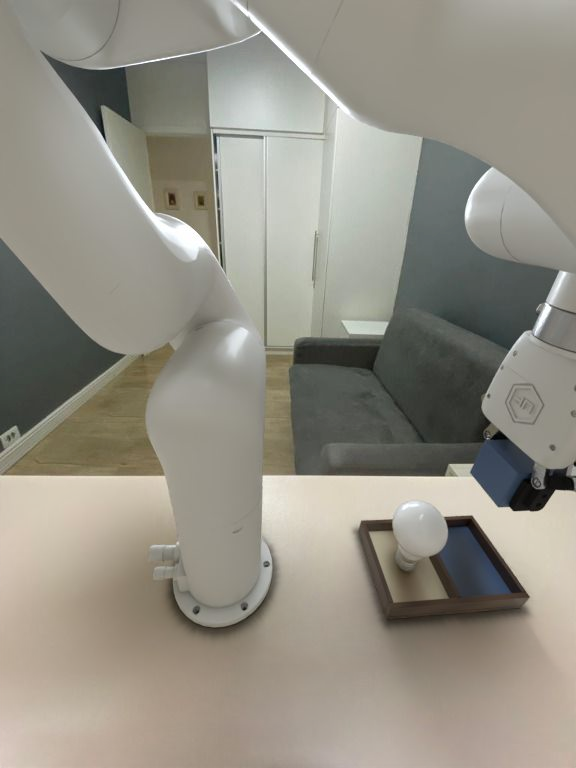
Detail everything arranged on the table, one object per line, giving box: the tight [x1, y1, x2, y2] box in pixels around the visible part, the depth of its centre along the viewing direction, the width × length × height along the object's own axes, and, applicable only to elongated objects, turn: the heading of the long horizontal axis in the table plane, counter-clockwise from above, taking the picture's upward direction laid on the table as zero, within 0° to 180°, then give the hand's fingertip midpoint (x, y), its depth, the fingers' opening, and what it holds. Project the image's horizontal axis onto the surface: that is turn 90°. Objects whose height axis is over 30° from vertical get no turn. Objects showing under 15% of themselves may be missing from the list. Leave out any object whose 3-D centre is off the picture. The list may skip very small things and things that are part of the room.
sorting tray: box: [357, 515, 531, 620], centre depth 42 cm, size 18×12×3 cm, turn 96°
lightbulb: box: [392, 499, 448, 571], centre depth 39 cm, size 6×6×11 cm
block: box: [469, 439, 554, 508], centre depth 33 cm, size 5×5×5 cm
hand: (504, 485), depth 34 cm, fingers closed on block, 5 cm apart
